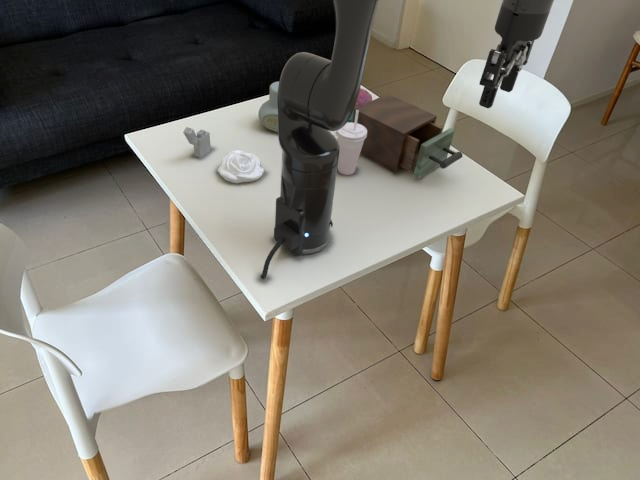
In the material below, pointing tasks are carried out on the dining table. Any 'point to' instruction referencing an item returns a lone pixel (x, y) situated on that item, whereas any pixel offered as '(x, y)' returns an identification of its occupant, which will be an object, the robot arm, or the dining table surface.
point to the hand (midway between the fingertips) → (495, 98)
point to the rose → (240, 167)
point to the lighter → (198, 141)
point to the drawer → (428, 150)
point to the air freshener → (270, 109)
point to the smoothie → (350, 145)
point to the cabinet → (389, 128)
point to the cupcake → (362, 100)
